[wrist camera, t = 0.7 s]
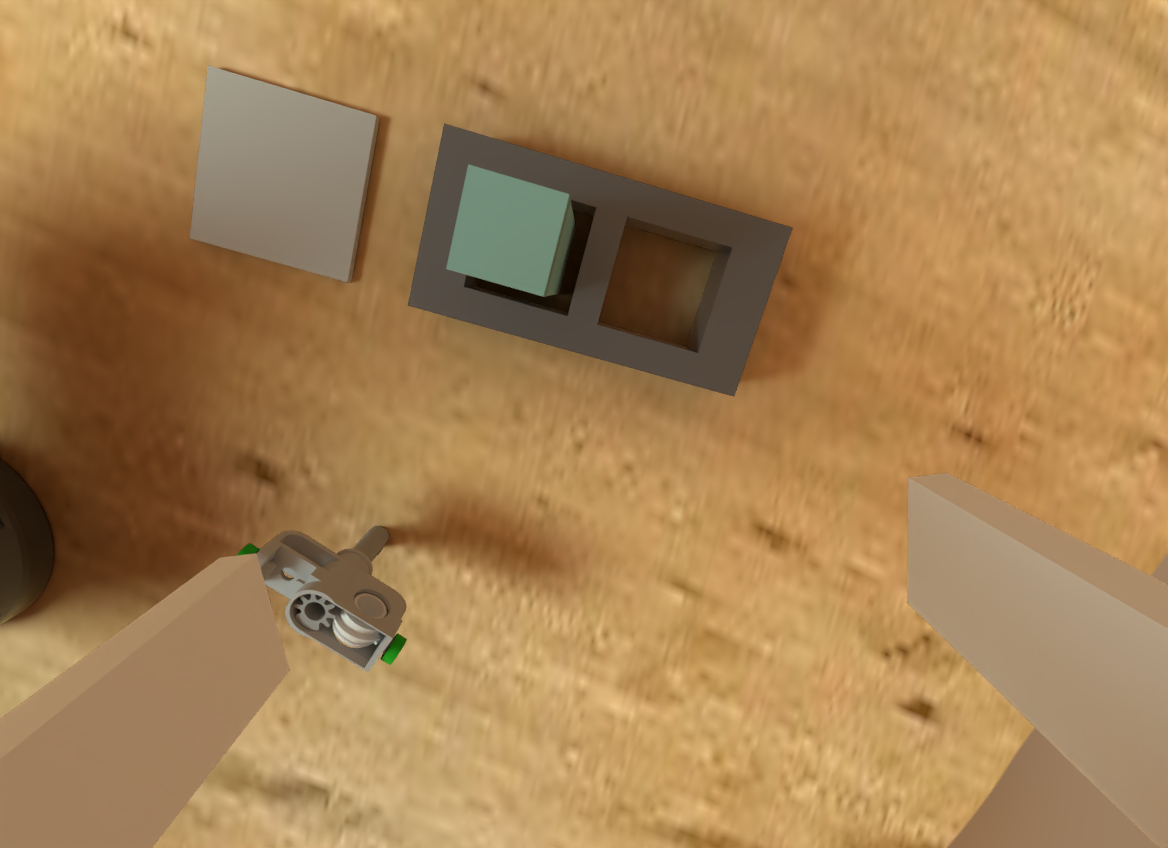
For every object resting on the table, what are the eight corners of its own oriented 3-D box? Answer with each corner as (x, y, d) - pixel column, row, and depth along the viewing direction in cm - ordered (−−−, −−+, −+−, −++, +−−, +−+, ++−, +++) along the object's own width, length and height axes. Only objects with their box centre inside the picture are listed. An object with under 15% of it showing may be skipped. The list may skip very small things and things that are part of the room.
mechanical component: (327, 480, 39) (241, 543, 30) (449, 559, 41) (406, 644, 31) (306, 512, 40) (215, 584, 30) (428, 589, 41) (378, 681, 32)
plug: (495, 276, 36) (445, 269, 23) (511, 208, 35) (467, 163, 22) (558, 294, 36) (543, 297, 24) (576, 227, 35) (569, 193, 23)
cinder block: (426, 303, 36) (407, 305, 33) (460, 142, 34) (444, 123, 30) (718, 385, 38) (734, 396, 34) (770, 234, 35) (792, 227, 31)
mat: (196, 239, 36) (189, 238, 35) (214, 69, 33) (207, 65, 33) (351, 282, 36) (347, 282, 36) (379, 118, 34) (376, 115, 33)
